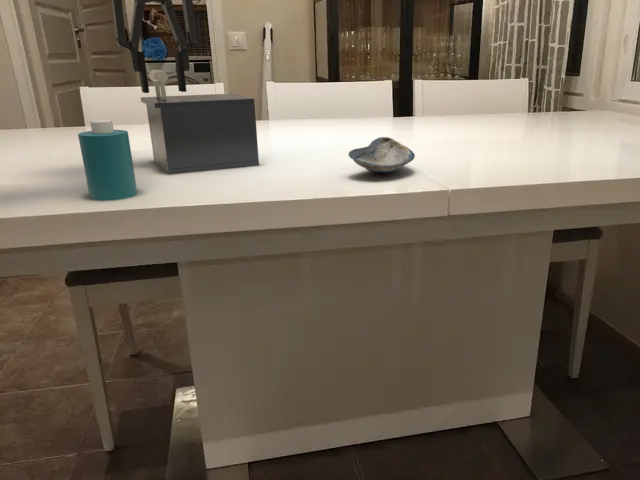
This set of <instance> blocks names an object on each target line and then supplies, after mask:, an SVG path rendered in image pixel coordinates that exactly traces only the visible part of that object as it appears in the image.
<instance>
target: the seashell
mask: <svg viewBox="0 0 640 480" xmlns="http://www.w3.org/2000/svg"><path fill="white" fill-rule="evenodd" d="M348 157H349V158H350V159H351V160H352V161H353V162H354V163H355V164H356V165H358V166H359V167H361V168H364V169H365V170H367V171H369V172H373V173H378V174H385V173H390V172H394V171H397V170H399V169H401V168H402V167H404V166H406V165H408V164H410V163H411V162H412V161H414V159H415V157H416V155H415V152H414V151H412V150H411V148H409V147H407V146H406V145H404V144H402V143H401V142H399V141H397V140H395V139H393V138H391V137H388V136H381V137H377V138H374V140H372V141H370V143H369V144H368V145H367V146H363V147H358V148H354V149H351V150H350V151H349V152H348Z"/></svg>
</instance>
